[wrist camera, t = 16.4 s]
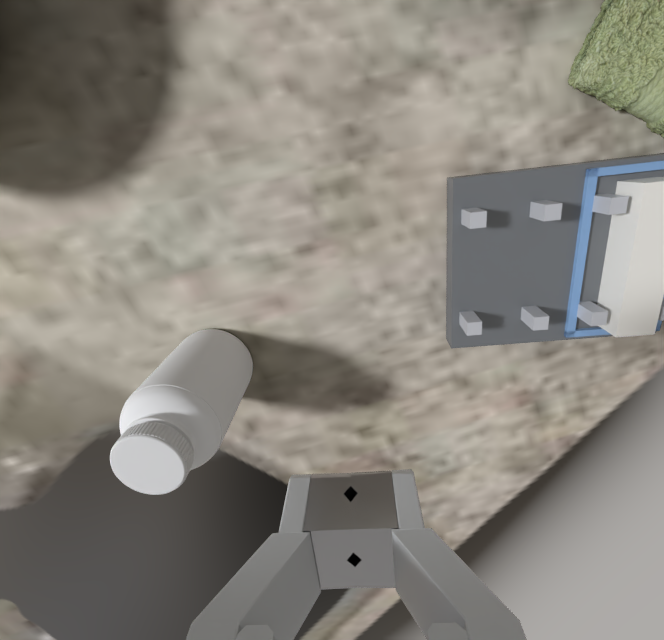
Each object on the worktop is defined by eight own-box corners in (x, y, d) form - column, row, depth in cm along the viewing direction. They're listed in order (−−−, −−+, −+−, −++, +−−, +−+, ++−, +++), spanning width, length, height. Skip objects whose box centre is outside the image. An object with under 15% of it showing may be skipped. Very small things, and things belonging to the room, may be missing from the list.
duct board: (447, 177, 32) (461, 179, 27) (677, 151, 30) (729, 149, 26) (446, 339, 37) (458, 361, 33) (640, 324, 36) (678, 345, 32)
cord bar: (617, 181, 29) (645, 183, 26) (658, 176, 29) (691, 178, 26) (594, 323, 34) (615, 337, 31) (629, 320, 34) (654, 334, 31)
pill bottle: (271, 366, 39) (227, 475, 26) (218, 405, 42) (152, 526, 28) (215, 310, 37) (135, 398, 23) (163, 355, 40) (63, 459, 26)
